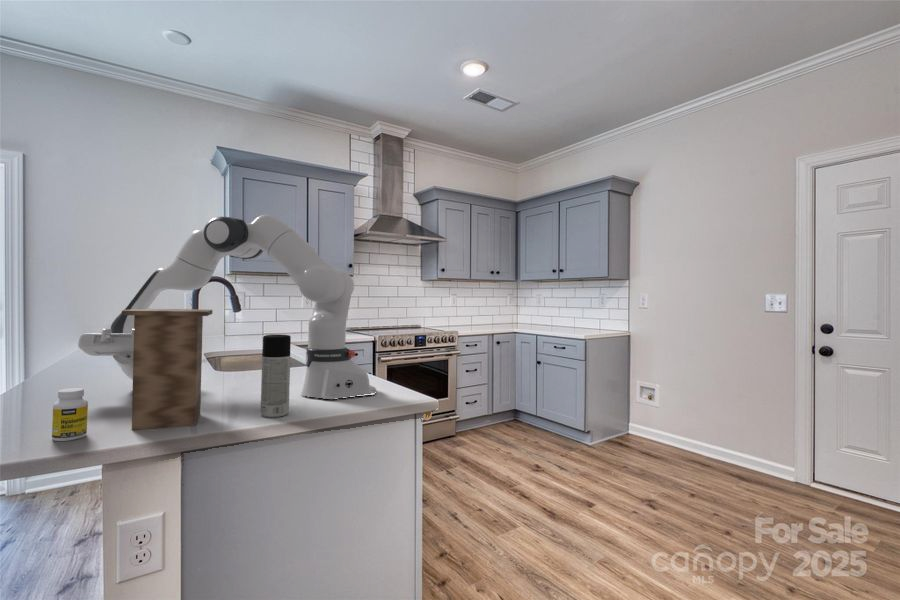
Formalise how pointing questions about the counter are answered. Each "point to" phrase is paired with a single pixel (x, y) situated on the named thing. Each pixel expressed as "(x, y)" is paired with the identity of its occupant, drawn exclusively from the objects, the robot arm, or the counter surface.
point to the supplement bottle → (70, 415)
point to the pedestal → (166, 367)
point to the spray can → (275, 375)
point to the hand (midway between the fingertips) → (120, 331)
